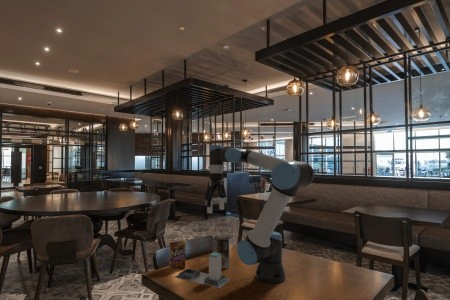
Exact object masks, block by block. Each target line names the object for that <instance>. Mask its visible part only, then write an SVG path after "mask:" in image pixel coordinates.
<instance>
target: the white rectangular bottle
mask: <svg viewBox="0 0 450 300" xmlns="http://www.w3.org/2000/svg"><path fill="white" fill-rule="evenodd" d="M208 274H209V279H210V280H215V281H218V280H220V279H221V276H222V268H221V254H220V253H215V252H213V251H212V253H209V256H208Z"/></svg>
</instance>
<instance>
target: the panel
mask: <svg viewBox="0 0 450 300" xmlns="http://www.w3.org/2000/svg"><path fill="white" fill-rule="evenodd" d="M174 278H176V279H179V280H184V281H189V282H192V283H196V284H200V285H201V284H202V285H206V286H210V287H214V288H216V289H218V290H220V289H221V288H222V287H223V286H224V285H226V284H227V283H228V282H229V281H231V278H230V277H226V276H225V275H221V279H220V280H218V281H215V280H210V279H209V273H206V272H202V271H200V270H196V269H194V268H185V269H183V270H182V271H180V272H179V273H178V274H177V275H175V276H174Z"/></svg>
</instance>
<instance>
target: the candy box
mask: <svg viewBox="0 0 450 300" xmlns="http://www.w3.org/2000/svg"><path fill="white" fill-rule="evenodd" d="M186 246H187V240H186V239H183V240H182V239H179V240H176V239H174V240H173V239H172V240H171V239H170V240H169V261H168V270H169V271H170V270H186V257H187V256H186V253H187V247H186Z"/></svg>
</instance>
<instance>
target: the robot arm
mask: <svg viewBox="0 0 450 300" xmlns="http://www.w3.org/2000/svg"><path fill="white" fill-rule="evenodd" d="M224 163H245V164H248V165H251V166H254V167H256V168H260V169H262V170H263V169H264V170H266V171H270V172H271V173H270V178H271V184H270V186H271V191H270V194H269V196H268V197H267V200H266V201H265V204H264V206H263V208H262V210H261V212H260V214H259V217H258V218H257V221H256V223H255V225H254V227H253V229H250V230H249V231H248V232H247V234H246V235H245V238H244V239H242V240H240V241H238V243H237V246H236V252H237V256H238V258H239V260H240V261H241V262H242V263H243V264H244V265H246V266H253V265H256V264H257V266H256V270H255V278H256V279H257V280H258V281H260V282H263V283H266V284H280V283H283V282H285V280H286V279H287V278H286V275H287V274H286V271H285V268H284V265H283V238H282V237H283V236H282V234H281V233H280V232H278V231H275V229H276V227H277V224H278V223H279V221H280V218H281V217H282V215H283V214H284V211H285V209H286V207H287V205H288V203H289V201H290V199H291V198H295V197H296V196H297V193H298V191H299V190H300V188H305V187H308V186H309V185H311V184H312V182H313V181H314V178H315V171H314V168H313V167H312V165H311V164H309V163H308V162H305V161H298V160H295V159H293V160H287V159H283V158H280V157H275V156H272V155H269V154H265V153H262V152H258V151H255V150H253V149H250V148H237V147H227V148H225V147H224V146H223V145H222V144H211V145H210V146H209V166H208V167H209V168H208V169H209V177H208V178H209V180H210V181H208V182H207V189H206V192H205V196H204V200H205V201H206V203H207V205H206V206H207V207H206V211H207V212H206V213H207V214H213V197H214V195H215V193H216V191H217V193H218V195H219V199H218V200H219V201H218V202H219V203H218V205H219V207H218V208H219V209H218V210H225V199H226V198H227V193H226V189H225V185H224V184H225V183H224V174H223V172H224Z"/></svg>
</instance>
